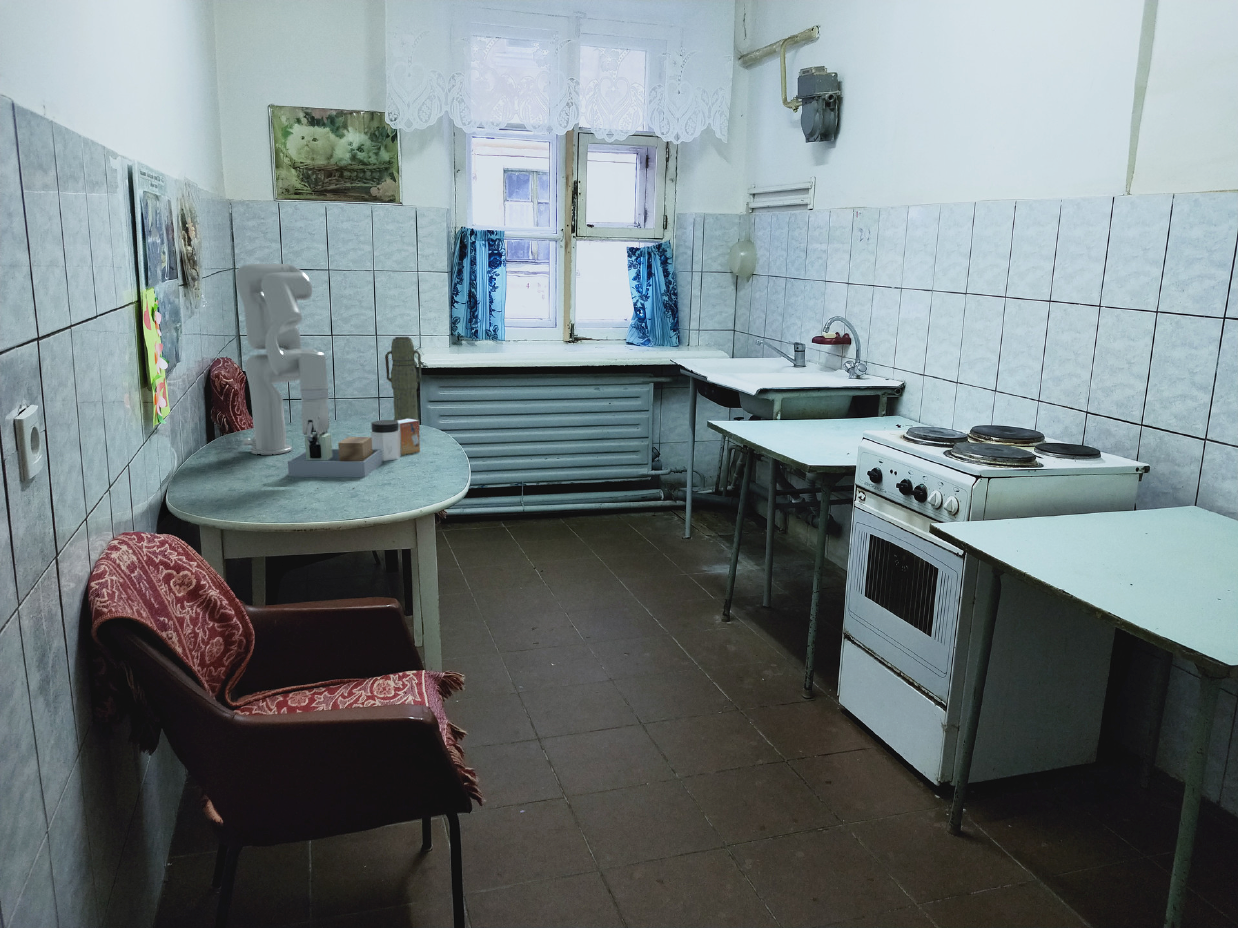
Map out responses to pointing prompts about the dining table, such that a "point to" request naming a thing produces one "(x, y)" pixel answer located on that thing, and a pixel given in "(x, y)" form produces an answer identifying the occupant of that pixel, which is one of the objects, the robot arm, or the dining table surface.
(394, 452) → the jar
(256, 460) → the dining table surface
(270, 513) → the dining table surface
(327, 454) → the pale green block
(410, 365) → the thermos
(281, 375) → the robot arm
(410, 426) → the small box
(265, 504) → the dining table surface
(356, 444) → the walnut block
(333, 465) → the box
